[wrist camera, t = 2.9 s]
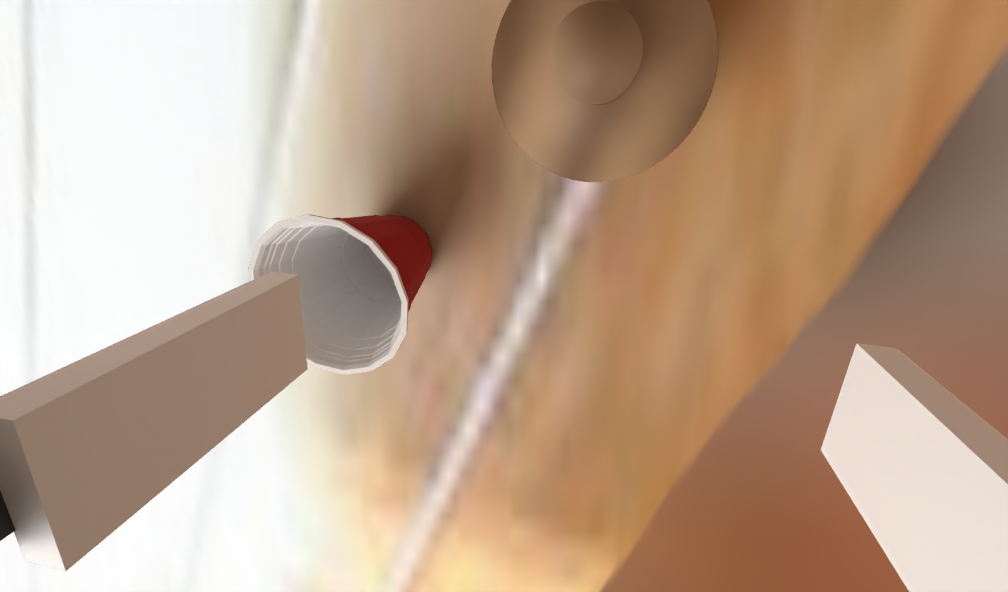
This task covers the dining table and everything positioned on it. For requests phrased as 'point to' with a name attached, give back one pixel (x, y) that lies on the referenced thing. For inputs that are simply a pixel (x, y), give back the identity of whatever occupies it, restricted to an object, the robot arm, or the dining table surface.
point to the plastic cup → (349, 283)
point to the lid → (603, 81)
